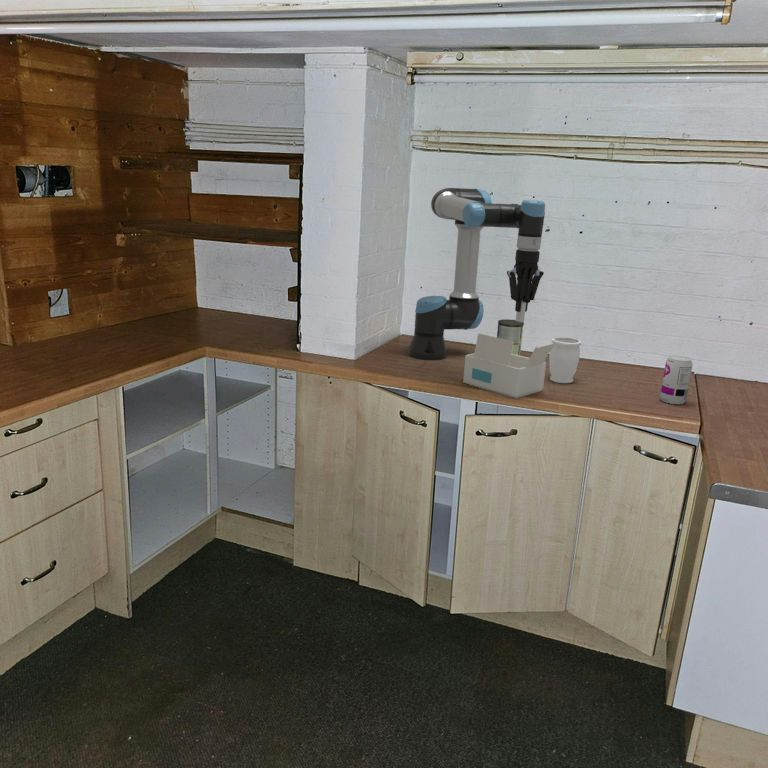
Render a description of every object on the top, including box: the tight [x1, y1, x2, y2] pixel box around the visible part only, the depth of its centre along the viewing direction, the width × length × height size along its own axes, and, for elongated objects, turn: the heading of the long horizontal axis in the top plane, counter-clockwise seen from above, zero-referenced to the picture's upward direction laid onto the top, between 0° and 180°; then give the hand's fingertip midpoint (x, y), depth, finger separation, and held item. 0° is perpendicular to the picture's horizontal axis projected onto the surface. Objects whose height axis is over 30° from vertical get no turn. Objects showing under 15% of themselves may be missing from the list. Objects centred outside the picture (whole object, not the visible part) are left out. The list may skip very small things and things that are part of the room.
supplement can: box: [659, 355, 694, 406], centre depth 231 cm, size 8×8×15 cm
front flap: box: [473, 332, 514, 366], centre depth 230 cm, size 14×8×1 cm
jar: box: [548, 336, 582, 384], centre depth 250 cm, size 11×10×15 cm
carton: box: [462, 352, 547, 400], centre depth 239 cm, size 23×17×10 cm
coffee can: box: [496, 318, 525, 356], centre depth 283 cm, size 10×10×14 cm
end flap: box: [525, 342, 554, 368], centre depth 227 cm, size 8×10×1 cm
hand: (519, 321), depth 231 cm, fingers closed
